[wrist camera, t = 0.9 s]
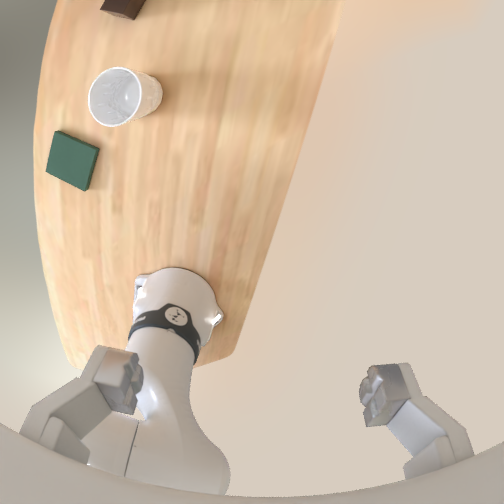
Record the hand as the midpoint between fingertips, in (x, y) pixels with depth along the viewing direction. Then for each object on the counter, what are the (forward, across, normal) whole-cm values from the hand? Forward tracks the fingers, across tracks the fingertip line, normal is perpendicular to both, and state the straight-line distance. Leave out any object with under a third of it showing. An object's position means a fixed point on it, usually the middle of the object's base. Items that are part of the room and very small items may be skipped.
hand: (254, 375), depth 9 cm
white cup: (+38, -18, +9) cm, 44 cm away
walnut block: (+38, -22, +26) cm, 51 cm away
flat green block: (+38, -33, 0) cm, 50 cm away
